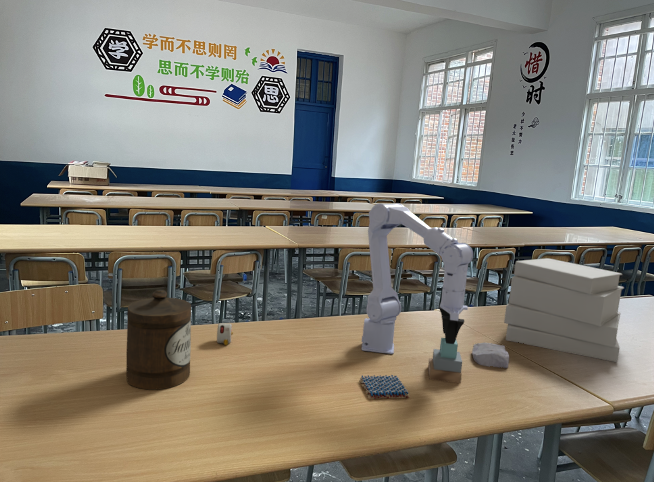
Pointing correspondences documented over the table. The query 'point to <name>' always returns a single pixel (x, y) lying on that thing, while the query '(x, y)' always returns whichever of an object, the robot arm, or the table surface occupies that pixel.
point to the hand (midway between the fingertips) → (448, 338)
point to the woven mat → (384, 387)
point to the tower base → (443, 374)
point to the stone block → (490, 355)
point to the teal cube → (448, 349)
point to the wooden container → (158, 342)
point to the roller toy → (224, 333)
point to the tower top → (446, 362)
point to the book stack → (564, 308)
